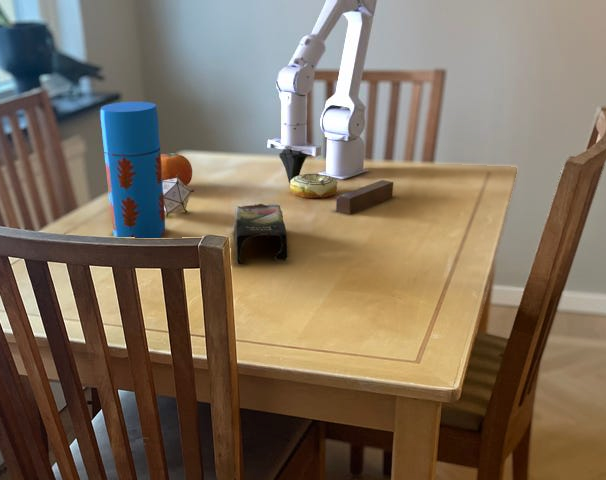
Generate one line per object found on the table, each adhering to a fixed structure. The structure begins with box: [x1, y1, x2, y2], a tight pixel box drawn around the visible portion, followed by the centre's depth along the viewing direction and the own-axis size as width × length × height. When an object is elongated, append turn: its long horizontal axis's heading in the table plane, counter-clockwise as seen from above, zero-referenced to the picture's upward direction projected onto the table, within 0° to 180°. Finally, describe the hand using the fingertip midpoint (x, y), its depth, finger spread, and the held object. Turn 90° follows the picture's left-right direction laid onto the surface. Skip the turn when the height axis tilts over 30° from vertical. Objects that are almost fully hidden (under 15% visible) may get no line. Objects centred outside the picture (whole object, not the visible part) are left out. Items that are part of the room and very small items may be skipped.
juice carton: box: [232, 203, 289, 265], centre depth 152 cm, size 20×10×6 cm, turn 1°
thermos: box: [100, 101, 166, 239], centre depth 156 cm, size 11×11×25 cm
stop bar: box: [335, 179, 394, 215], centre depth 174 cm, size 16×4×4 cm, turn 136°
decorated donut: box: [289, 173, 339, 199], centre depth 182 cm, size 10×11×4 cm
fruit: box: [161, 152, 193, 187], centre depth 189 cm, size 11×10×8 cm
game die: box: [162, 174, 195, 219], centre depth 171 cm, size 9×8×10 cm
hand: (293, 182), depth 187 cm, fingers closed
